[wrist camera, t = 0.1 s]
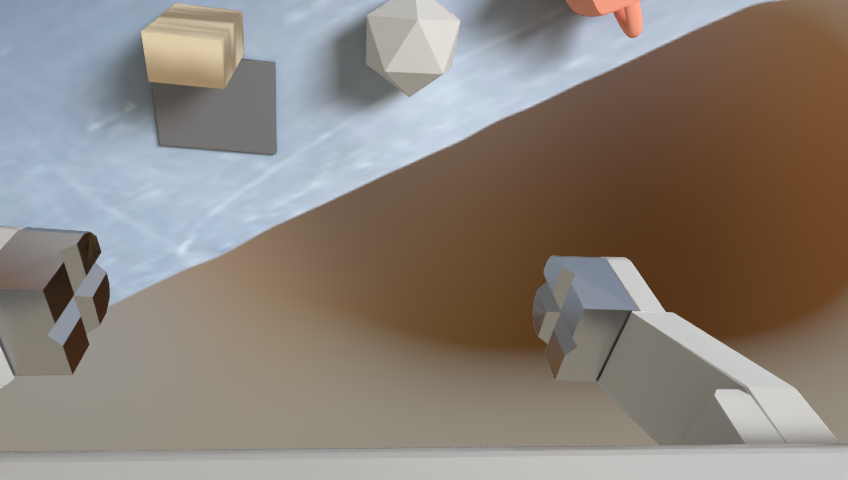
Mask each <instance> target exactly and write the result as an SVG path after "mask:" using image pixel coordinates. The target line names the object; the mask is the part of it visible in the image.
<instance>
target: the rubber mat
mask: <svg viewBox="0 0 848 480" xmlns="http://www.w3.org/2000/svg"><path fill="white" fill-rule="evenodd" d="M151 86H152V92H153V99H154V106H155V113H156V119H157V126H158V133H159V140H160V145H167V146H180V147H192V148H204V149H217V150H229V151H241V152H253V153H266V154H276V152H277V145H276V74H275V62H269V61H259V60H250V59H241V60H240V62H239V64H238V66H237V68H236V69H235V71H234V73H233V75H232V77H231V78H230V80H229V82H228V84H227V85H226V87H225V89H218V88H208V87H198V86H188V85H178V84H168V83H158V82H151Z"/></svg>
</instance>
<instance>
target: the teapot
mask: <svg viewBox="0 0 848 480" xmlns="http://www.w3.org/2000/svg"><path fill="white" fill-rule="evenodd" d="M565 1H566V2H567V4H568V6H569V7H570V8H571V10H573V11H574V12H576V13H577V14H580V15H583V16H588V17H594V16H602V15H606V14H609V13H612V12H613V13H614V15H615V17H616V19H617V21H618V23H619V25H620V27H621V28H622V30H623V31H624V33H625V34H626V35H627V36H628V37H630V38H635V37H637V36H639V35H640V33H641V31H642V14H641V8H640V2H639V1H640V0H565Z"/></svg>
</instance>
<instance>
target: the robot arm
mask: <svg viewBox="0 0 848 480" xmlns="http://www.w3.org/2000/svg"><path fill="white" fill-rule="evenodd" d="M100 254H101V249H100V246H99V243H98V239H97V236H95V235H94V234H93V233H91V232H88V231H74V230H59V229H45V228H31V227H27V228H24V227H14V226H0V389H1V388H2V387H4V386H5V385H6V384H8V383H9V382H10V381H12V380H13V379H14V376H26V375H28V376H30V375H73V373H74V371H75V370H76V368H77V366H78V364H79V362H80V360H81V359H82V357H83V355H84V353H85V352H86V350H87V348H88V346H89V342H88V338H87V335H86V334H87V333H88V332H90V331H91V330H93V329H95V328H96V327H98V326H100V324H101V322H102V320H103V318H104V316H105V315H106V312H107V308H108V303H109V298H110V289H109V281H108V276H107V273H106V272H105V271H104V270H103V269H102V268H101V267H99V266H98V265H97V264H96V263H95V262H96V260H97V258H98V257H99V255H100ZM544 275H545V277H546V279H547V283H545V284H544V285H543V286H542V287H541V288H539V289H538V290H537V293H536V297H535V300H534V305H533V320H534V326H535V329H536V332H537V335H538V337H539V338H541V339H542V340H543V341H544V342H546V343H547V344H548V346H547V349H546V351H545V356H546V359H547V361H548V364H549V366H550V369H551V372H552V374H553V377H554V379H555V380H557V381H583V382H598V383H597V384H598V386H599V387H601V389H602V390H604V392H606V394H608V395H609V396H610V397H611V398H612V399H613V400H614V401H615V402H616V403H617V404H618V405H619V406H620V407H621V408H622V409H623V410H624V411H625V412H626V413H627V414H628V415H629V416H630V417H631V418H632V419H633V420H634V421H635V422H636V423H637V424H638V425H639V426H640V427H641V428H642V429H643V430H644V431H645V432H646V433H647V434H648V435H649V436H650V437H651V438H652V439H654V440H655V441H656V442H657V443H658V444H659V445H630V446H629V445H625V446H529V447H528V446H524V447H410V448H408V447H407V448H406V447H403V448H302V449H201V450H200V449H199V450H96V451H95V450H94V451H0V480H848V443H839V441H838V440H837V439H836V437H835V436H834V435H833V434H832V433H831V431H830V430H829V429H828V428H827V427H826V425H825V424H824V423H823V422H822V420H821V419H820V418H819V417H818V416H817V414H816V413H815V412H814V411H813V409H812V408H811V407H810V406H809V405H808V403H807V402H806V401H805V400H804V398H803V397H802V396H801V395H800V394H799V392H798V391H797V390H796V389H795V388H794V387H792V386H790V385H789V384H787V383H786V382H784V381H782V380H781V379H779V378H778V377H776V376H774V375H773V374H771V373H770V372H768V371H766V370H765V369H763V368H761V367H760V366H758V365H757V364H755V363H753V362H752V361H750V360H749V359H747V358H745V357H744V356H742V355H741V354H739V353H737V352H736V351H734V350H733V349H730V348H729V347H728V346H726V345H725V344H723V343H721V342H720V341H718V340H716V339H715V338H713V337H711V336H710V335H708V334H707V333H705V332H704V331H702V330H700V329H699V328H697V327H696V326H694V325H692V324H691V323H689V322H687V321H686V320H684V319H683V318H681V317H679V316H678V315H676V314H674V313H669V312H665V310H664V309H663V308H662V306H661V305H660V303H659V302H658V300H657V299H656V297H655V296H654V295H653V293H652V292H651V290H650V288H649V287H648V286H647V284H646V283H645V281H644V280H643V278H642V277H641V275H640V274H639V272H638V271H637V269H636V268H635V267H634V265H633V264H632V262H631V261H630V260H628V259H626V258H625V257H600V258H594V257H571V256H568V257H567V256H551V257H550V259H549V260H548V261H547V264H546V266H545V269H544Z"/></svg>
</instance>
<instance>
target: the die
mask: <svg viewBox="0 0 848 480" xmlns="http://www.w3.org/2000/svg"><path fill="white" fill-rule="evenodd" d="M460 22H461V21H460V20H459V19H458V18H457V17H455V16H454V15H453V14H451V13H450V12H449V11H448V10H446V9H445V8H444V7H443V6H441V5H440V4H439V3H437V2H436V1H435V0H389V1H388V2H386V3H385V4H383V5H382V6H380V7H379V8H377V9H376V10H374V11H373V12H371V13H369V14H368V15H367V26H366V65H368V66H369V67H370V68H372V69H373V70H374V71H375V72H377V73H378V74H379V75H381V76H382V77H383V78H385V79H386V80H387V81H389V82H390V83H391V84H393V85H394V86H395V87H396V88H398V89H399V90H400V91H402V92H403V93H404V94H406V95H407V96H408V97H410V96H412V95H413V94H415V93H416V92H418V91H419V90H420V89H422V88H423V87H425V86H426V85H428V84H429V83H431V82H432V81H434V80H435V79H437V78H438V77H440V76H441V75H443V74H444V73H446V72H447V71H448V70H450V69H451V68H452V65H453V59H454V54H455V49H456V43H457V38H458V32H459V27H460Z"/></svg>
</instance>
